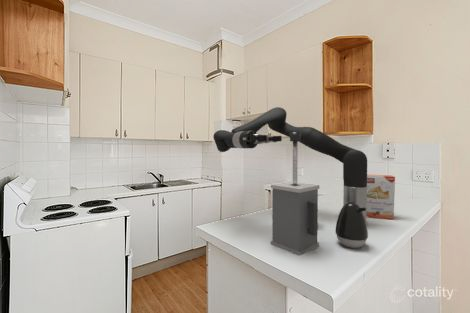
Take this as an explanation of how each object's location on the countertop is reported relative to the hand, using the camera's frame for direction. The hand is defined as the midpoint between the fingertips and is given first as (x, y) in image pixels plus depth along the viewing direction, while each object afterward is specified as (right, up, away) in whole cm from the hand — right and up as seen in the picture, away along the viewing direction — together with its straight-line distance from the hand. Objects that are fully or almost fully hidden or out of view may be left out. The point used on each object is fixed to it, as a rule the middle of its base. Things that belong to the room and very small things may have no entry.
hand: (273, 138), depth 88 cm
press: (+7, -38, -7) cm, 39 cm away
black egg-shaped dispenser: (+26, -38, -7) cm, 47 cm away
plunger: (+6, -27, -7) cm, 28 cm away
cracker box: (+55, -37, +27) cm, 72 cm away
